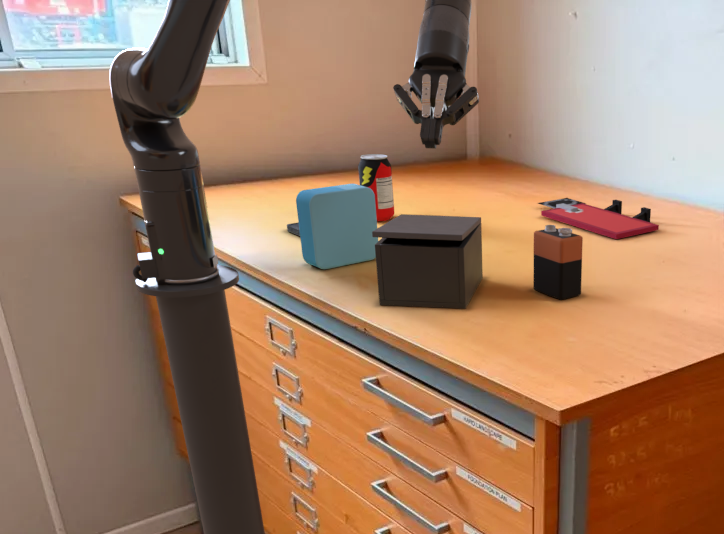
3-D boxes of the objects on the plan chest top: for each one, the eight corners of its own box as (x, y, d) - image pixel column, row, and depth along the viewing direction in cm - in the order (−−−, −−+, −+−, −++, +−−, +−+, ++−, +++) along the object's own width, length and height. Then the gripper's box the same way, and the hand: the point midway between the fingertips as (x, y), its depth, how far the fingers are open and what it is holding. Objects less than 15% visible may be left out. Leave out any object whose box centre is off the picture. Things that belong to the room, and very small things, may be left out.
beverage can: (387, 214, 178) (382, 152, 173) (399, 220, 173) (395, 157, 168) (357, 217, 175) (352, 154, 169) (369, 223, 170) (364, 159, 165)
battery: (560, 301, 129) (561, 233, 125) (531, 290, 134) (532, 224, 129) (582, 295, 132) (584, 229, 127) (553, 285, 137) (554, 221, 132)
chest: (465, 308, 125) (463, 248, 121) (379, 305, 126) (374, 244, 122) (482, 278, 139) (481, 222, 135) (404, 274, 140) (401, 219, 136)
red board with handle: (573, 201, 192) (519, 210, 183) (573, 187, 190) (518, 197, 182) (671, 229, 172) (616, 241, 163) (672, 215, 170) (616, 226, 162)
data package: (365, 253, 151) (359, 182, 145) (380, 258, 148) (374, 186, 143) (303, 265, 143) (294, 190, 138) (317, 271, 140) (308, 195, 135)
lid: (462, 240, 120) (462, 234, 120) (372, 237, 121) (371, 231, 120) (481, 222, 135) (481, 217, 135) (401, 219, 136) (400, 214, 135)
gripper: (393, 26, 127) (378, 126, 122) (483, 29, 126) (471, 129, 121) (404, 64, 134) (390, 159, 129) (489, 66, 134) (478, 162, 128)
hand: (429, 144), depth 125 cm, fingers closed
